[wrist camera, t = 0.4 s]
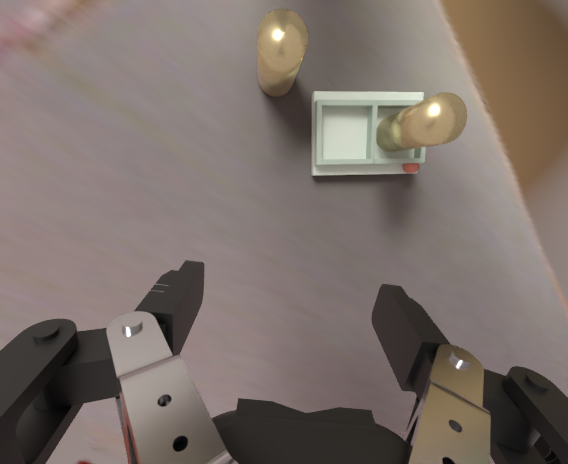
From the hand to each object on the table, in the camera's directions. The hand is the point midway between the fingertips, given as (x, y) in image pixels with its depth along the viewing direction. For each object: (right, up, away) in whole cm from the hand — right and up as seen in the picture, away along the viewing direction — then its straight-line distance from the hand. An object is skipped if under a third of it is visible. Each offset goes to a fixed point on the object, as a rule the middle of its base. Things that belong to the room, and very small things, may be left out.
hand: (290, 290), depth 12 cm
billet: (-1, +22, +22) cm, 31 cm away
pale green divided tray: (+10, +15, +24) cm, 30 cm away
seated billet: (+14, +15, +23) cm, 31 cm away
